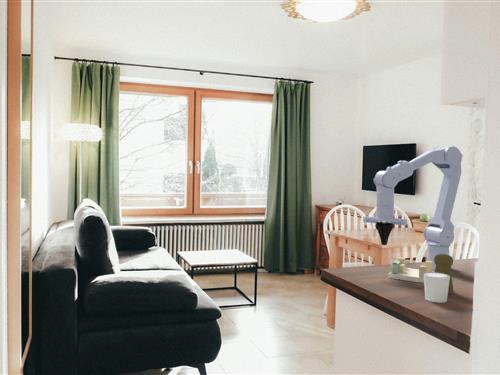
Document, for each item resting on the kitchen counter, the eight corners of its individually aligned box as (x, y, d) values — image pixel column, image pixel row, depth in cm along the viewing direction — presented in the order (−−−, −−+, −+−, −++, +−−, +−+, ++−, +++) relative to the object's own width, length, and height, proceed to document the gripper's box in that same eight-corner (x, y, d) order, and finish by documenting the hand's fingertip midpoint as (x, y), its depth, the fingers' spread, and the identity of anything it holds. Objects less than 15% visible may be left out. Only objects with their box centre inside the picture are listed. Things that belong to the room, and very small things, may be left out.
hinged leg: (397, 273, 149) (398, 263, 149) (390, 272, 150) (390, 263, 150) (400, 268, 157) (400, 258, 157) (393, 267, 158) (393, 258, 158)
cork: (455, 294, 131) (457, 257, 131) (433, 293, 133) (434, 256, 132) (451, 289, 137) (452, 253, 137) (429, 288, 138) (430, 252, 138)
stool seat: (398, 271, 161) (398, 257, 160) (434, 275, 154) (434, 261, 154) (388, 277, 151) (388, 262, 150) (426, 283, 144) (426, 267, 144)
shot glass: (417, 296, 129) (418, 272, 129) (438, 295, 131) (439, 271, 130) (433, 304, 122) (433, 278, 122) (454, 302, 124) (455, 277, 124)
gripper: (360, 205, 157) (360, 244, 158) (403, 207, 149) (402, 248, 150) (367, 203, 163) (366, 241, 164) (408, 206, 155) (408, 245, 156)
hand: (384, 244), depth 157 cm, fingers closed
